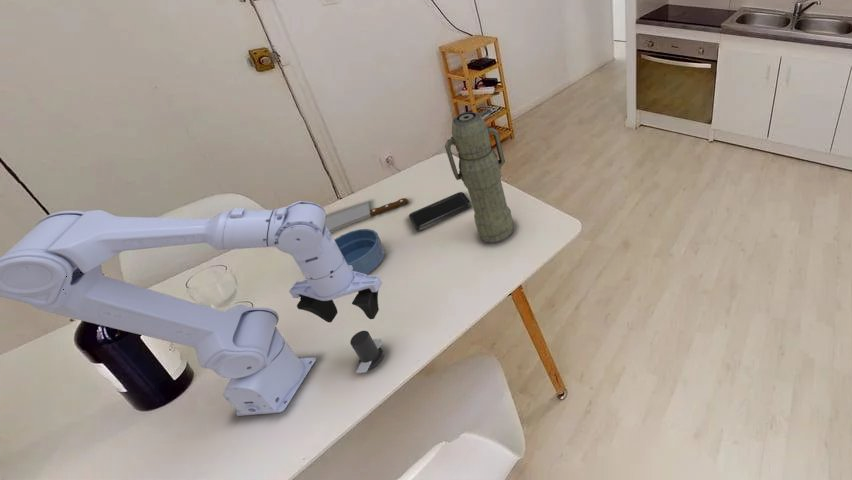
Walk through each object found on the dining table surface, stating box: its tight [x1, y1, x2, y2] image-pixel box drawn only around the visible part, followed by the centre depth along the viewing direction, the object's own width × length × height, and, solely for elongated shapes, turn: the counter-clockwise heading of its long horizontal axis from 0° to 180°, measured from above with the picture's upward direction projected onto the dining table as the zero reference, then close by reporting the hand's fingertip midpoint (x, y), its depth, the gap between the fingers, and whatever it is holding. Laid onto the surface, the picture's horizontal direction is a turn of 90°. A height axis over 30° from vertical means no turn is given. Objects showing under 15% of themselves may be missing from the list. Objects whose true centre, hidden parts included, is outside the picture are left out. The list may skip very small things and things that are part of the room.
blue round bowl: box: [334, 228, 386, 275], centre depth 99 cm, size 12×12×6 cm
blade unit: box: [349, 330, 385, 374], centre depth 77 cm, size 6×4×7 cm, turn 3°
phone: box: [408, 191, 472, 232], centre depth 115 cm, size 8×1×15 cm
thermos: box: [444, 111, 515, 245], centre depth 100 cm, size 9×12×35 cm
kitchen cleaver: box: [324, 197, 409, 234], centre depth 115 cm, size 24×1×10 cm
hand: (353, 315), depth 77 cm, fingers open, 7 cm apart
